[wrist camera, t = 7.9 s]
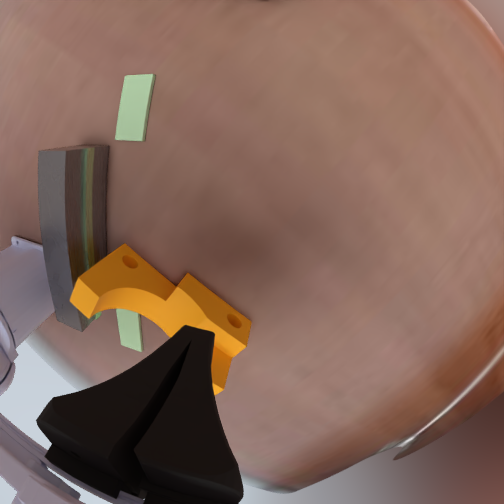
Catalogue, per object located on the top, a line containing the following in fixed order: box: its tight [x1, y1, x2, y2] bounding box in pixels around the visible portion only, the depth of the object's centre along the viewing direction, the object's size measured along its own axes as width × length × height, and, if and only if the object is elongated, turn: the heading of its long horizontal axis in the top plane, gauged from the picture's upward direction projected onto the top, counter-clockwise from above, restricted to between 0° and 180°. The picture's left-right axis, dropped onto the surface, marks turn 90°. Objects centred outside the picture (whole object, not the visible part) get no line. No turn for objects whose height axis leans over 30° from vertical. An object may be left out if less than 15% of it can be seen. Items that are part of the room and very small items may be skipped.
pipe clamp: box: [70, 243, 252, 396], centre depth 19 cm, size 12×4×6 cm, turn 50°
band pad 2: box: [116, 308, 143, 352], centre depth 24 cm, size 2×5×1 cm, turn 170°
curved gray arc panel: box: [38, 145, 109, 332], centre depth 18 cm, size 3×14×5 cm, turn 170°
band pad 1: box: [115, 74, 156, 141], centre depth 16 cm, size 2×5×1 cm, turn 170°
